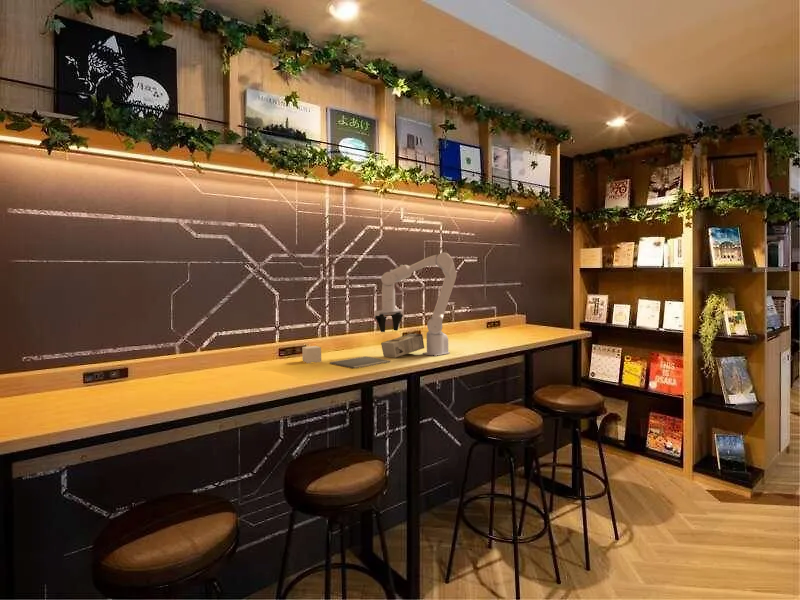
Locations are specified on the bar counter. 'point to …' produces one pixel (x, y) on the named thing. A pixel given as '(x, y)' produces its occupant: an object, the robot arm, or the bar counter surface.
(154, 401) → the bar counter surface
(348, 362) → the mat
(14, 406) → the bar counter surface
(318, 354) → the white cube
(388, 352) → the coffee box
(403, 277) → the robot arm
